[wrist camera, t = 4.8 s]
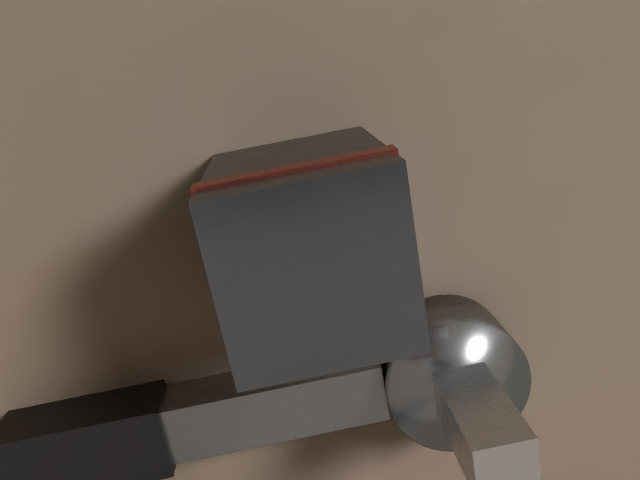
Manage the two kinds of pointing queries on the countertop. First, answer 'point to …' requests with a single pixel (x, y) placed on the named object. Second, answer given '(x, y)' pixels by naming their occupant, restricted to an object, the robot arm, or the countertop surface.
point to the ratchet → (296, 411)
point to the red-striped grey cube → (311, 257)
